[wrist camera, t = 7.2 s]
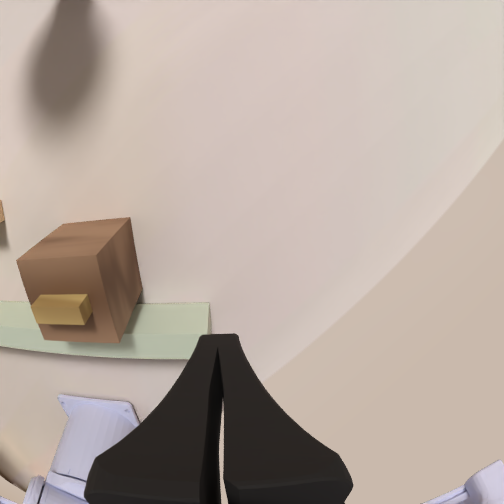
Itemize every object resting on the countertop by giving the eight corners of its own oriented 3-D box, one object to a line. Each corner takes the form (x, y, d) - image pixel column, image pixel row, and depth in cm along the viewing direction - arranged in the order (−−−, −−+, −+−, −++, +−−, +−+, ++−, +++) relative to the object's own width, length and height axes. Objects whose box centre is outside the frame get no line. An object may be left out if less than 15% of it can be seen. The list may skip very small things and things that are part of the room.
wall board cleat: (211, 326, 22) (210, 358, 19) (-38, 315, 20) (-57, 335, 17) (201, 178, 18) (195, 190, 15) (-69, 214, 16) (-93, 228, 13)
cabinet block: (142, 288, 21) (113, 357, 14) (79, 290, 20) (36, 352, 14) (130, 217, 19) (86, 266, 12) (63, 223, 18) (4, 270, 12)
